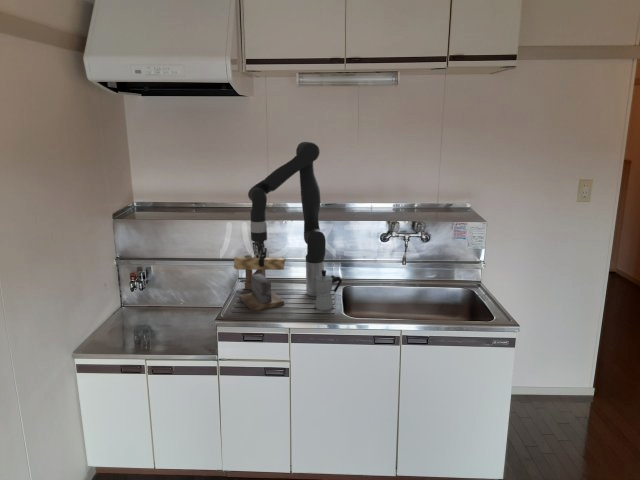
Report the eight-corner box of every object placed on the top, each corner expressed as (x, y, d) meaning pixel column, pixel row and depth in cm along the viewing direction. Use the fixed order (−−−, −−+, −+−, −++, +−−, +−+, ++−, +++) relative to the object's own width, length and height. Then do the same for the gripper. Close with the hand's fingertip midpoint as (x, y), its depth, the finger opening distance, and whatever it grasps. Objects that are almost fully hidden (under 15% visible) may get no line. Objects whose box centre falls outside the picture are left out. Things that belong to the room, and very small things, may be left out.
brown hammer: (262, 291, 249) (261, 258, 244) (244, 289, 253) (242, 256, 248) (266, 289, 252) (264, 256, 248) (248, 287, 256) (246, 254, 252)
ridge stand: (270, 293, 247) (269, 270, 244) (284, 305, 231) (283, 281, 228) (240, 298, 240) (238, 275, 237) (251, 311, 224) (250, 286, 221)
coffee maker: (312, 311, 223) (311, 274, 218) (309, 304, 231) (308, 268, 227) (344, 309, 226) (344, 272, 221) (339, 302, 234) (339, 266, 230)
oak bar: (281, 267, 238) (282, 257, 237) (283, 269, 235) (284, 259, 234) (233, 267, 227) (234, 257, 226) (235, 269, 224) (236, 259, 223)
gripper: (271, 232, 222) (273, 268, 227) (261, 226, 235) (262, 260, 239) (256, 234, 219) (257, 270, 223) (246, 228, 231) (247, 262, 236)
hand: (260, 265), depth 231 cm, fingers closed on oak bar, 3 cm apart
